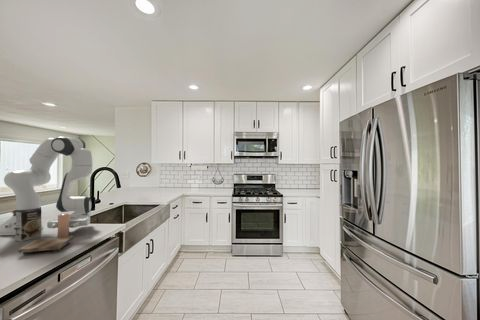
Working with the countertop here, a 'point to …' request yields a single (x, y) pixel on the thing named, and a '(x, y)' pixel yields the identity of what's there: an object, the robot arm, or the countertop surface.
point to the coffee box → (28, 224)
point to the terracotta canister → (63, 225)
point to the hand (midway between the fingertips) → (62, 226)
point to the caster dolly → (45, 245)
